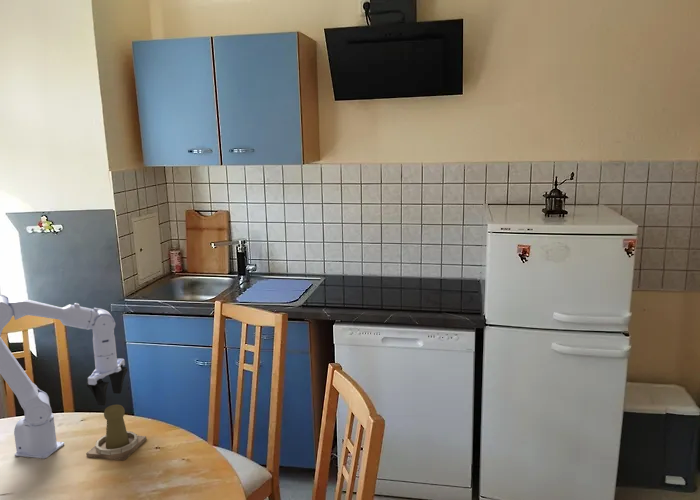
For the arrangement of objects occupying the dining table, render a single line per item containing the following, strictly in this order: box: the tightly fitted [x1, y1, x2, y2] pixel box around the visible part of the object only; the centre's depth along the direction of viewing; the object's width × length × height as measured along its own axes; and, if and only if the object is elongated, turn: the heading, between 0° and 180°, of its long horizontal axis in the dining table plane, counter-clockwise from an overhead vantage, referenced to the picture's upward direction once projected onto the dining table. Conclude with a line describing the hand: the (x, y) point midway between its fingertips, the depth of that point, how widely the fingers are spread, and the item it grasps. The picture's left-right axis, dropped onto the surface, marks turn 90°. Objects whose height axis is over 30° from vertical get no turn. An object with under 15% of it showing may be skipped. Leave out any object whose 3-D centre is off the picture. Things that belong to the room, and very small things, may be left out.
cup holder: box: [85, 430, 147, 461], centre depth 161 cm, size 11×11×2 cm
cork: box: [103, 404, 129, 449], centre depth 160 cm, size 6×6×11 cm
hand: (109, 398), depth 168 cm, fingers open, 7 cm apart
